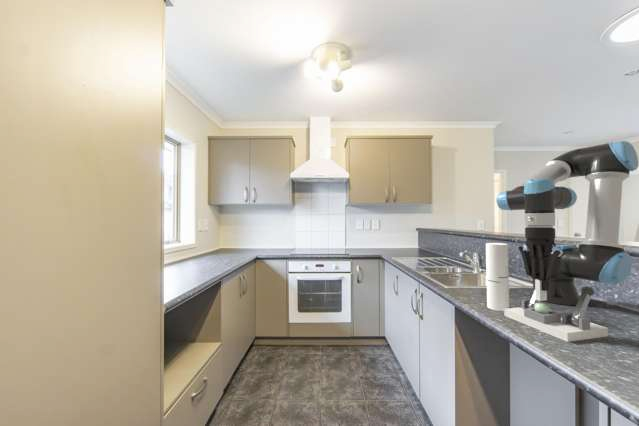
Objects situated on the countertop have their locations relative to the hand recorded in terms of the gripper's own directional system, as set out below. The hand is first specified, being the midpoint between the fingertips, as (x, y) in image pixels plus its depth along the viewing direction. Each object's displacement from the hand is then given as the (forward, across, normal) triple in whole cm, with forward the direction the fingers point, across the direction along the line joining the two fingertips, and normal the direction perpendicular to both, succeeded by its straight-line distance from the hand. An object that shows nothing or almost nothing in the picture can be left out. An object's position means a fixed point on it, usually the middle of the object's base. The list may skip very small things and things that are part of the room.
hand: (541, 299), depth 83 cm
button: (+5, 0, 0) cm, 5 cm away
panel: (+9, -1, +4) cm, 10 cm away
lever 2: (+6, +6, +4) cm, 9 cm away
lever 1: (+6, -7, +4) cm, 10 cm away
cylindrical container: (+9, -18, +2) cm, 20 cm away
